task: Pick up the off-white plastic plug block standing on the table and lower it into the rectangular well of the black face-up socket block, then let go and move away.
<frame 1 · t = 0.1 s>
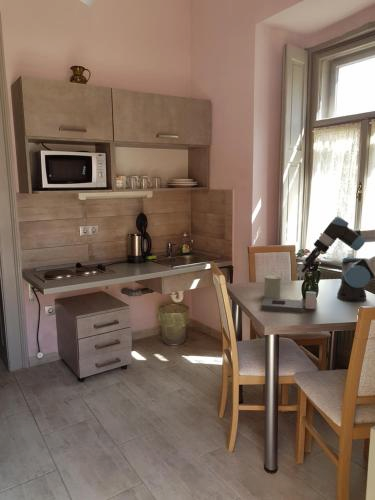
hand: (298, 273, 216), 15 cm above the table, tool tilted 35°, fingers open, 13 cm apart
socket: (282, 307, 207), on the table
can: (272, 296, 228), on the table
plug: (310, 307, 206), on the table
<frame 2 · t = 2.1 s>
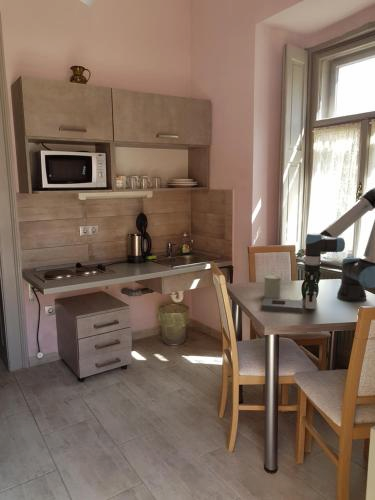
hand: (310, 304, 206), 2 cm above the table, tool pointing down, fingers open, 13 cm apart
nothing on the table moved.
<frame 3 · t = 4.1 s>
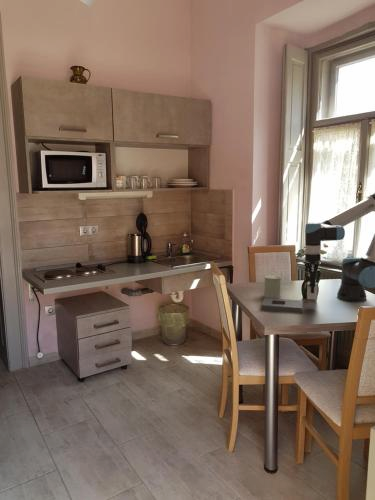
hand: (312, 297, 206), 5 cm above the table, tool pointing down, fingers closed on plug, 4 cm apart
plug: (312, 298, 206), point 5 cm above the table, touching gripper
everything else where it was.
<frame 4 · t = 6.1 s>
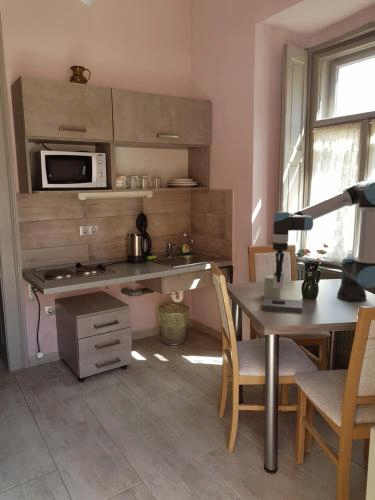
hand: (278, 286, 206), 11 cm above the table, tool pointing down, fingers closed on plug, 4 cm apart
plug: (278, 287, 206), point 11 cm above the table, touching gripper
everything else where it was.
when the fingers open (3 cm above the table, at t = 8.0 s): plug drops 2 cm, resting on socket.
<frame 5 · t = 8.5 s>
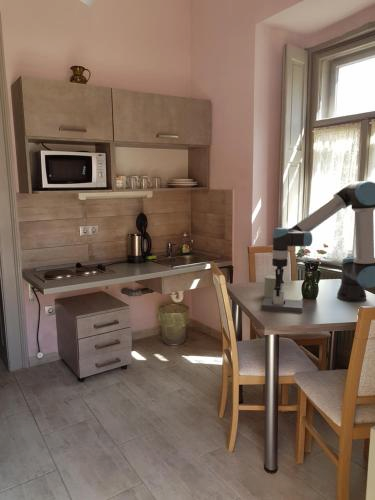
hand: (278, 298, 207), 4 cm above the table, tool pointing down, fingers open, 12 cm apart
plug: (278, 306, 207), point 1 cm above the table, touching socket
everything else where it was.
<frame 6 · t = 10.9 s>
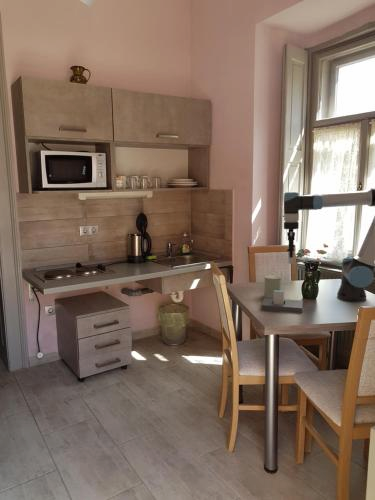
hand: (291, 261, 213), 23 cm above the table, tool pointing down, fingers open, 13 cm apart
nothing on the table moved.
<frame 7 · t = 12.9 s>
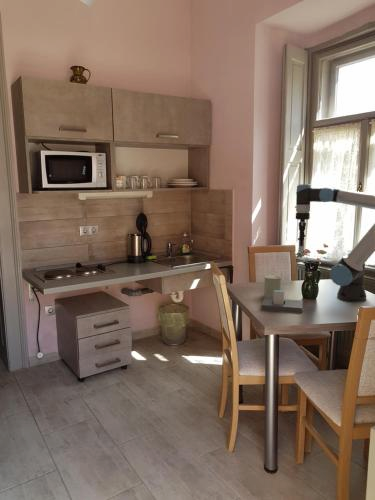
hand: (301, 249, 225), 27 cm above the table, tool pointing down, fingers open, 13 cm apart
nothing on the table moved.
at the end: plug 0.1 cm from the target spot on the socket, point 0.6 cm above the socket's base; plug tilted 0°; the gripper is holding nothing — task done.
